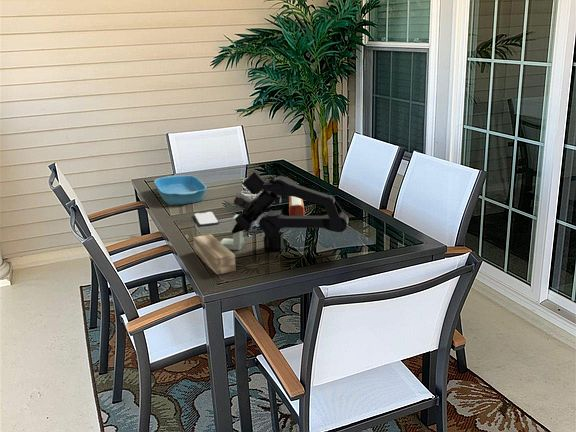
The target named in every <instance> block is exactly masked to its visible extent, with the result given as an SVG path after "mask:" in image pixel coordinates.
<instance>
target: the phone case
mask: <svg viewBox="0 0 576 432" xmlns="http://www.w3.org/2000/svg"><path fill="white" fill-rule="evenodd" d="M193 219H195V222H196V223H197V225H198V226H199V227H201V228H202V227H210V226H211V227H212V226H218V225H220V221H219V220H218V218H217V216H216V215H215V213H214V212H213V211H205V212H196V213H194V214H193Z"/></svg>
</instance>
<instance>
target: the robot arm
mask: <svg viewBox="0 0 576 432" xmlns="http://www.w3.org/2000/svg"><path fill="white" fill-rule="evenodd" d="M242 185H243V187H244V188H246V189H247V190H248V191H249V192H250V193H251V194H252V195H257V197H253V199H252V198H250V197H249V196H246V195H245V194H242V193H237V194H236V196H235V198H234V200H233V203H232V204H233V205H234V206H237V207H239V208H242V209H243V210H242V212H240V213H239V214H237V215H238V216H237V217H236V218H235V221H236V222H237V224H236V225H235V227H234V228H233V227H232V230H231V233H232V235H233V234H234V233H237V232H240V231H243V232H244V231H246V232H248V231H249V230H250V229H251V228H252V227H253V225H254V222H256V221H257V220H258V219H259V217H260V216H261V215H262V216H261V218H260V219H259V222H258V225H259V228H260V229H261V230H262V231H263V234H264V236H263V247H264V248H263V251H266V252H274V253H275V252H276V253H281V252H282V250H283V249H285V247H286V244H284V232H283V231H282V230H283V229H286V228H287V229H302V228H303V229H314V228H315V229H324V230H326V231H330V232H335V233H342V232H344V231H345V230H347V228H348V224H349V220H350V219H349V216H348V214H347V213H345V212H344V211H343V209H342V208H341V206H340V205H339V204H338V202H337V201H336V198H335V196H334V195H332V194H326V193H324V192H321V191H318V190H314V189H312V188H308V187H305V186H304V185H303V186H302V185H299V184H297V183H296V182H295V181H293V180H292V179H291V178H288V177H286V176H284V175H279V176H278V175H277V177H275V178H272V179H271V178H269V179H266V180H265V179H264V178H263V177H262V176H261V175H260V174H259V172H258V171H256V170H255V171H253V172H252V173H251V174H249V176H248V177H247V178H246V179H245V180H244V181H243V182H242ZM289 196H293V197H297V198H300V199H303V201H307V202H310V203H312V204H316V205H319V206H321V207H324V209H325V210H326V211H325V212H326V213H327V214H324V215H304V216H290V215H285V214H282V213H281V212H282V211H281V210H280V209H278V210H272V209H270V210H269V211H267V210H268V209H269V208H270V207H271V206H272V205H273V204H274V203H276V204H277V205H281V203H282V197H289ZM266 211H267V212H266Z"/></svg>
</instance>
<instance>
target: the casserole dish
mask: <svg viewBox="0 0 576 432" xmlns="http://www.w3.org/2000/svg"><path fill="white" fill-rule="evenodd" d="M153 182H154V183H153V184H154V186H155V188H156V191H157V192H158V195H160V197H161V199H162V200H163V201H164V202H165V203H166V204H168V205H171V206H179V205H187V204H193V203H194V204H195V203H199V202H201V201H202V200H203V199H204V197H205V194H206V191H207V185H205V183H203V181H202V180H201V179H199V177H197V176H195V175H191V174H190V175H187V174H186V175H185V174H181V175H179V174H177V175H175V174H174V175H168V176H163V177H158V178H155V179H154V181H153Z"/></svg>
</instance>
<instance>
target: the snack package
mask: <svg viewBox="0 0 576 432" xmlns="http://www.w3.org/2000/svg"><path fill="white" fill-rule="evenodd" d="M288 202H289V203H288V212H289V213H288V214H289V216H305V206H304V200H303V199H300V198H297V197H293V196H288Z"/></svg>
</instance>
